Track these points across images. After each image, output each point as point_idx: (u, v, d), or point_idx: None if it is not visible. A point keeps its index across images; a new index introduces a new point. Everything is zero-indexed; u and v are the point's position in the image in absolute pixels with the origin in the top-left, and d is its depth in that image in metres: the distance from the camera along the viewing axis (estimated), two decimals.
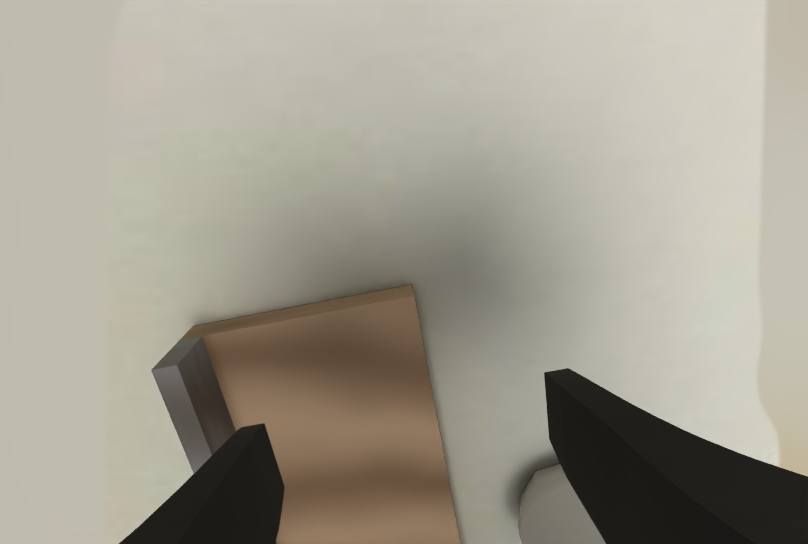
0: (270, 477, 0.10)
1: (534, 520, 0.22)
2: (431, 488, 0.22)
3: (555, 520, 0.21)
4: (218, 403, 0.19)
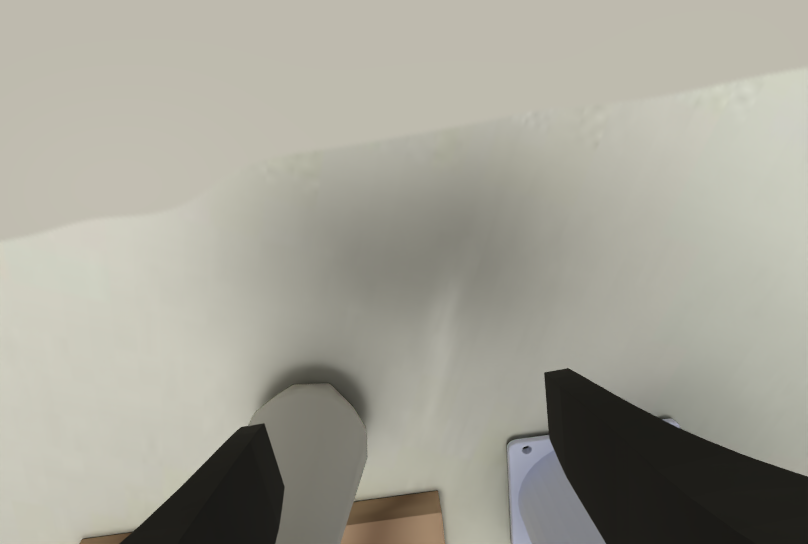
0: (270, 477, 0.10)
1: None
2: None
3: None
4: None
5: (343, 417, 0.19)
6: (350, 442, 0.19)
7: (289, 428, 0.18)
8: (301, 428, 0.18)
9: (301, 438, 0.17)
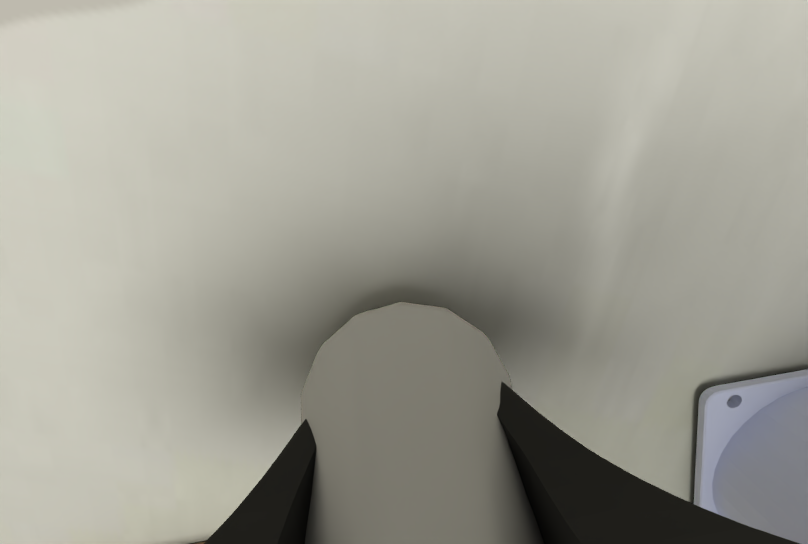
0: None
1: None
2: None
3: None
4: None
5: (478, 341, 0.11)
6: (500, 381, 0.11)
7: (397, 355, 0.10)
8: (420, 354, 0.10)
9: (426, 367, 0.09)
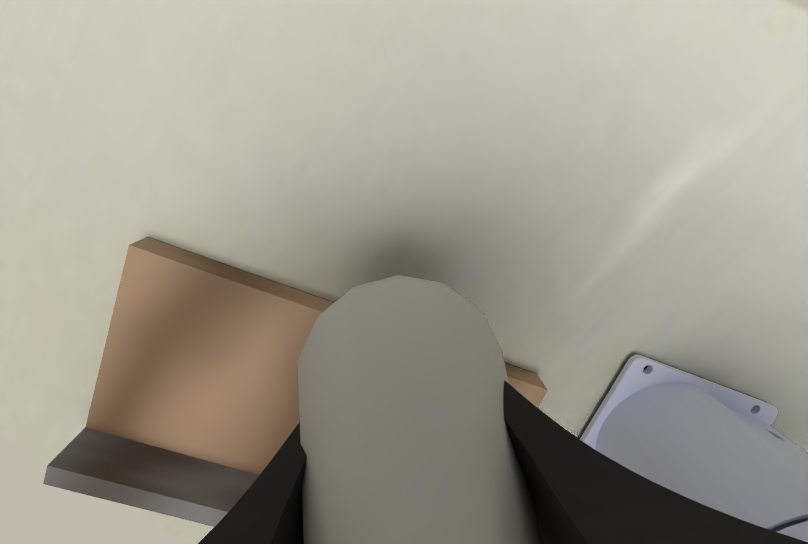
0: None
1: None
2: None
3: None
4: (144, 454, 0.20)
5: (473, 316, 0.11)
6: (494, 354, 0.11)
7: (396, 325, 0.10)
8: (418, 324, 0.10)
9: (424, 338, 0.09)
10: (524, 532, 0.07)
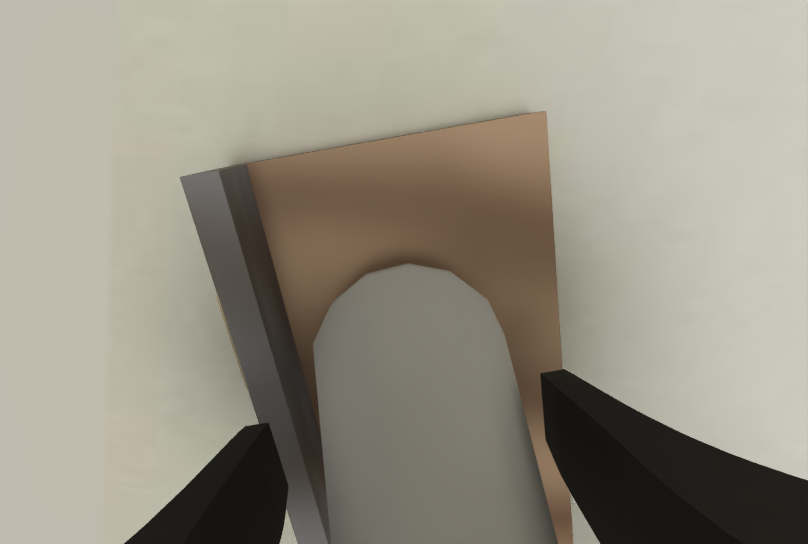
0: (274, 476, 0.10)
1: None
2: (540, 403, 0.17)
3: None
4: (266, 262, 0.14)
5: (478, 300, 0.12)
6: (498, 335, 0.12)
7: (407, 303, 0.11)
8: (428, 303, 0.11)
9: (433, 314, 0.10)
10: (527, 475, 0.07)
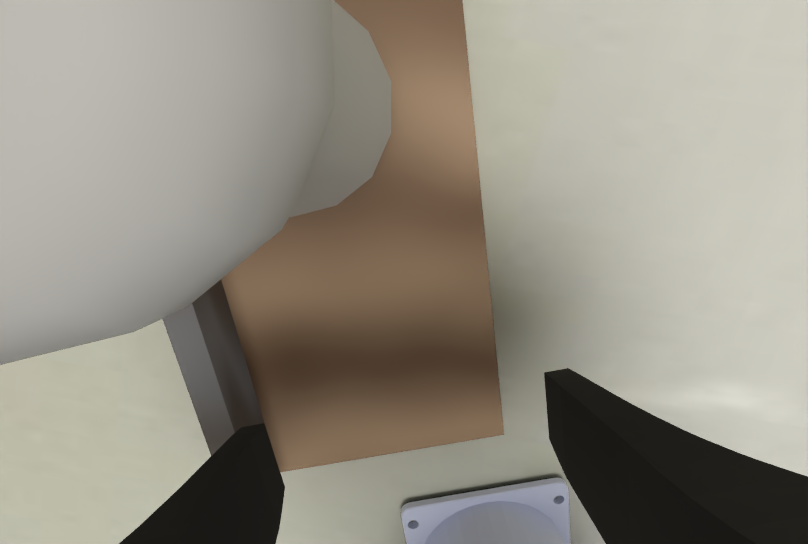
0: (270, 477, 0.10)
1: None
2: (456, 218, 0.15)
3: None
4: None
5: (351, 17, 0.11)
6: (366, 42, 0.10)
7: None
8: None
9: None
10: None
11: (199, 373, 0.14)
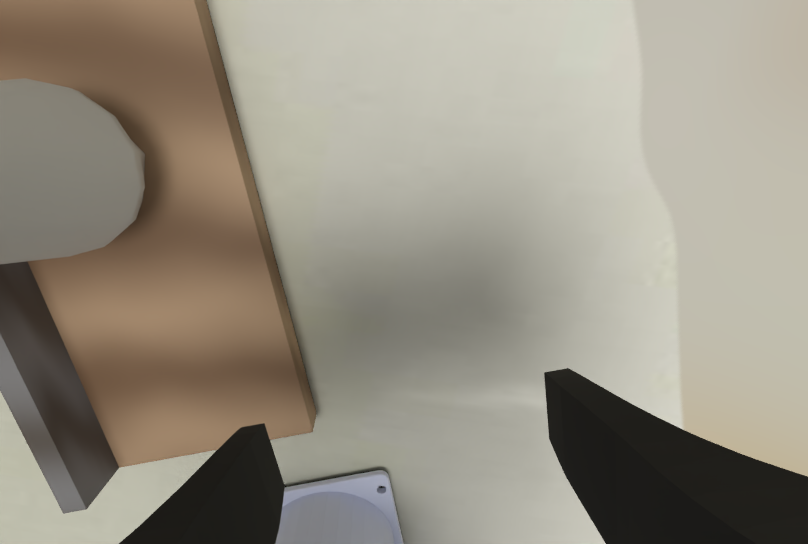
0: (270, 477, 0.10)
1: None
2: (239, 251, 0.18)
3: None
4: None
5: (83, 106, 0.14)
6: (83, 128, 0.13)
7: None
8: None
9: None
10: None
11: (11, 383, 0.17)
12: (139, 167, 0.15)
